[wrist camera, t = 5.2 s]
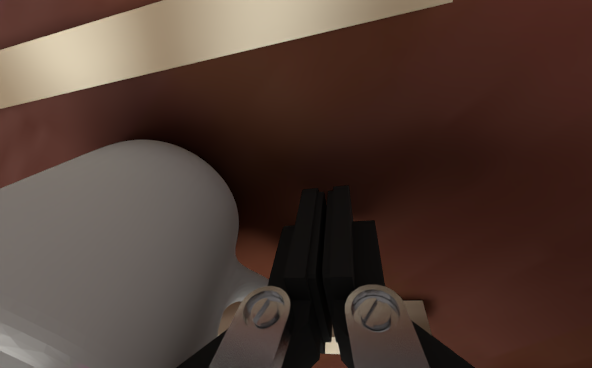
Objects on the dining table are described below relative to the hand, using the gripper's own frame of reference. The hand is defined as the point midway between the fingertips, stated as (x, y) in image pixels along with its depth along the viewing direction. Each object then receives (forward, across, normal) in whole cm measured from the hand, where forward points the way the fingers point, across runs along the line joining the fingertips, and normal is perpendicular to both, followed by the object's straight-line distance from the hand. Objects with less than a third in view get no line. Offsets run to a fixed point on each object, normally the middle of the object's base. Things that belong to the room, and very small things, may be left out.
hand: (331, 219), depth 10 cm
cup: (+2, +6, 0) cm, 6 cm away
